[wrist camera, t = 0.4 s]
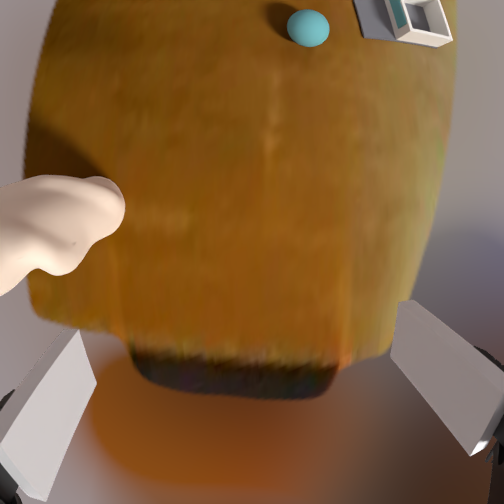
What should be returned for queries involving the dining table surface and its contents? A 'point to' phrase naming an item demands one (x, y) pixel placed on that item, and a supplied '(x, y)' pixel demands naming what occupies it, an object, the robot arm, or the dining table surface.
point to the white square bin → (406, 33)
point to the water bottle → (53, 223)
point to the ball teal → (308, 28)
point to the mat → (386, 20)
